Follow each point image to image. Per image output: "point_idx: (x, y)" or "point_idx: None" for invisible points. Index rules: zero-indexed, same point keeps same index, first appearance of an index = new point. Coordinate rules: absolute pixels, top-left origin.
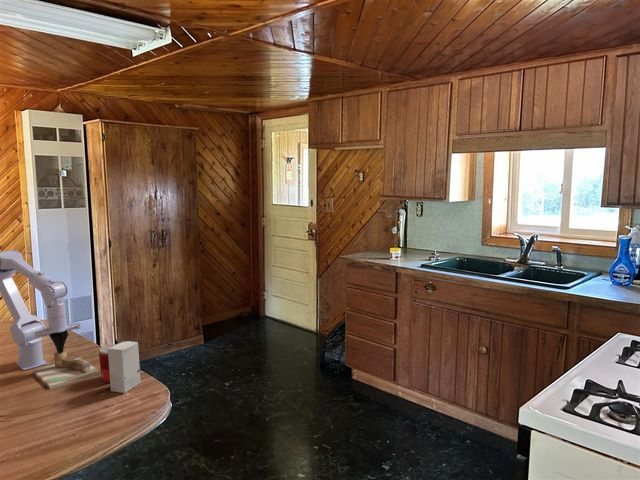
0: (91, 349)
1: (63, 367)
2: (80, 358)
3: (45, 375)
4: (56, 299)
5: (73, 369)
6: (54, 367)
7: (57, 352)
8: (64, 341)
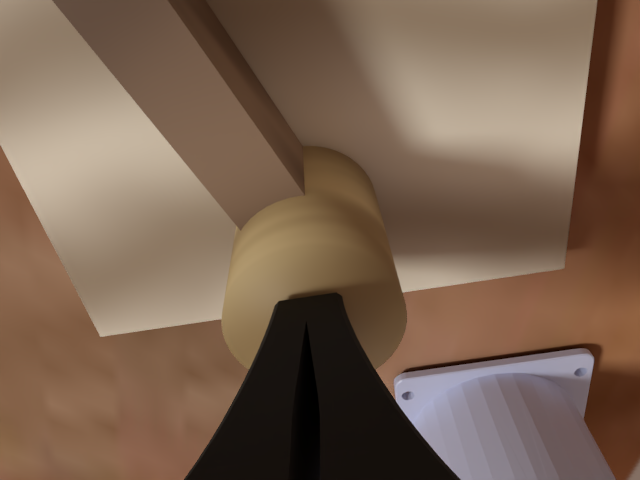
0: (27, 471)
1: None
2: (99, 307)
3: (533, 27)
4: None
5: None
6: None
7: None
8: (214, 462)
